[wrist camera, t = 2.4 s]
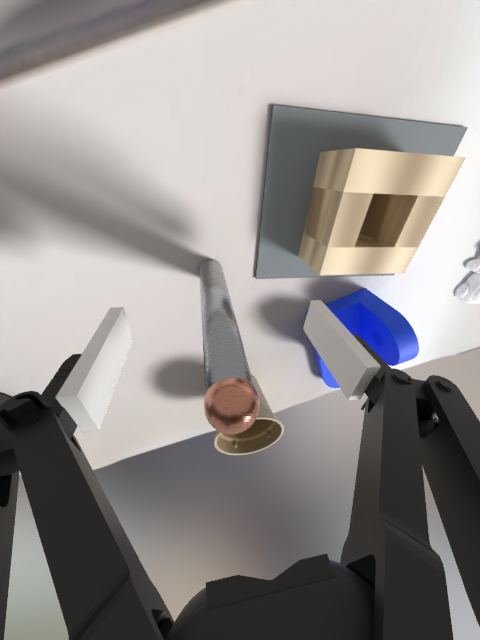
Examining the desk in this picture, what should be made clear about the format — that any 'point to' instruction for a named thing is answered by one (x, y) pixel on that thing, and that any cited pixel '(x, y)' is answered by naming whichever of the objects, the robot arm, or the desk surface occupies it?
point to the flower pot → (252, 431)
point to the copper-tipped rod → (224, 358)
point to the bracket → (373, 329)
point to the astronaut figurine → (471, 284)
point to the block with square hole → (372, 209)
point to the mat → (301, 164)
